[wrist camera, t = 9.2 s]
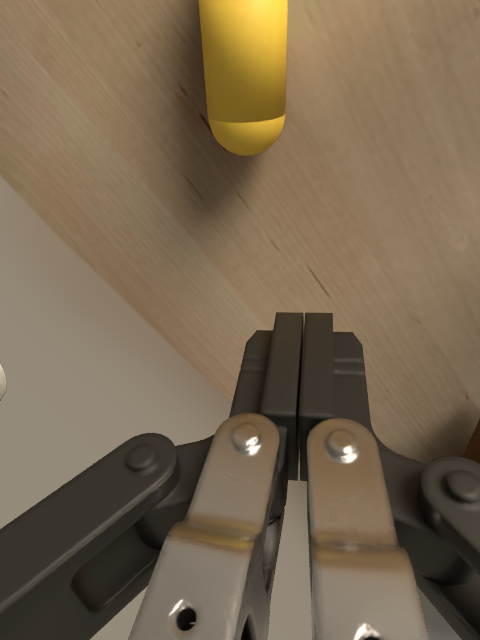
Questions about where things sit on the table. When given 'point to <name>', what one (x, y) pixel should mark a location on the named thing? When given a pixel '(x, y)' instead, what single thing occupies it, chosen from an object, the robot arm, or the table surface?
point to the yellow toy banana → (245, 71)
